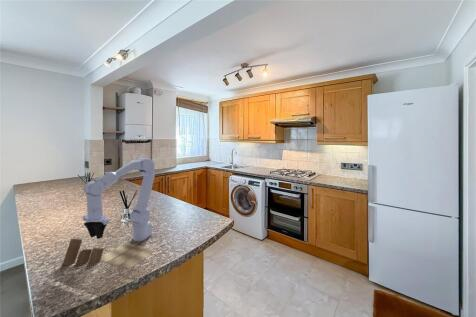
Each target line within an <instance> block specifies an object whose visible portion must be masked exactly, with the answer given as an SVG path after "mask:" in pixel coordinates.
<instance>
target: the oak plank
mask: <svg viewBox="0 0 476 317" xmlns="http://www.w3.org/2000/svg"><path fill="white" fill-rule="evenodd" d="M136 246H138V245H136V244H132V243H129V242H125V243H124V244H121V245H120V246H118V247H116V248H113V249H111V250H110V251H108V252H106V253H104V254H102V256H101V260H100V261H99V262H102V263H107V264H109V263H108V262H110V261H112V260H114V259H115V258H117V257H119V256H121V255H122V254H124V253H126V252H128V251H129V250H131V249H133V248H134V247H136Z"/></svg>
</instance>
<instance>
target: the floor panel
mask: <svg viewBox="0 0 476 317" xmlns="http://www.w3.org/2000/svg"><path fill="white" fill-rule="evenodd" d="M157 251H158V250H157V249H153V248H149V247H144V246H140V245H137V246H136V247H134V248H132V249H130V250H129V251H127V252H125V253H123V254H122V255H120V256H118V257H116V258H115V259H113V260H111V261H109V262H108V263H107V264H110V265H113V266H116V267H120V268H123V269H127V270H130V269H131V268H133V267H134V266H136V265H137V264H139V263H140V262H142V261H143V260H145V259H146V258H148V257H149V256H150V255H153V254H154V253H155V252H157Z"/></svg>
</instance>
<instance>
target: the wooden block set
mask: <svg viewBox="0 0 476 317" xmlns="http://www.w3.org/2000/svg"><path fill="white" fill-rule="evenodd" d="M82 242H83V238H78V237H77V238H76V237H75V238H71V239H70V242H69V244H68V247H67V250H66V253H65V255H64V258H63V261H62V265H63V266H71V265H73V264H74V263H75V265H80V266H82V265H85V263H88V264H90V265H95V264H97V263H98V262H101V261H100V260H101V256H102V255H103V253H104V250H105V249H104V248H101V247H93V248H92V249H91V248H85V249H82V250H81V251H80V247H81V245H82Z"/></svg>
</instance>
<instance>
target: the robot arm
mask: <svg viewBox="0 0 476 317" xmlns="http://www.w3.org/2000/svg"><path fill="white" fill-rule="evenodd" d="M134 170H135V171H137V170H138V171H139V172H140V173H141V174H142V176H143V177H142V182H141V185H140V190H139V193H138V196H137V198H138V199H137V202H136V205H134V207H133V208H132V210H131V213H130V214H129V220H130V222H131V224H132V226H131V227H132V240H133V241H134V242H141V241H145V240H146V239H147V238H149V237H151V236H153V226H152V225H153V224H152V222H151V221H150V220H151V219H150V218H151V216H150V209H149V206H148V205H149V201H150V197H151V193H152V188H153V185H154V180H155V176H156V174H155V173H156V171H155V162H154V161H153V160H152V159H151V158H149V157H148V158H146V157H145V158H143V157H136V158H134V159H132V160H131V161H129V162H127V163H126V164H124V165H123V166H121V167H120V168H118V169H117V170H115V171H106V172H104V174H103V175H101V176H100V177H98V178H97V177H96V178H94V181H93V180H91V181H88V182H86V183H85V185H84V187H83V191H84V192H85V193H86V209H87V210H86V212H87V214H85V215H83V216H82V221H84V222H83V225H84V226H85V228H86V229H87V231H88V234H89V237H90V238H94V237H96V239H97V240H100V239H101V238H103V236H104V233H105V232H104V231H105V229H106V228H107V225H108V224H110V219H109V218H107V217H106V216H104V208H103V193H104V191H105V189H108V188H110V187H111V186H112V185H114V184H116V183H117V182H118V181H119V178H121V177H123V176H124V175H127V174H128V173H131V172H132V171H134Z"/></svg>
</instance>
